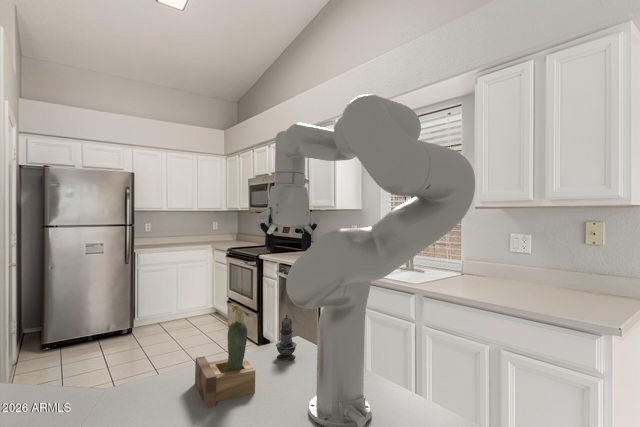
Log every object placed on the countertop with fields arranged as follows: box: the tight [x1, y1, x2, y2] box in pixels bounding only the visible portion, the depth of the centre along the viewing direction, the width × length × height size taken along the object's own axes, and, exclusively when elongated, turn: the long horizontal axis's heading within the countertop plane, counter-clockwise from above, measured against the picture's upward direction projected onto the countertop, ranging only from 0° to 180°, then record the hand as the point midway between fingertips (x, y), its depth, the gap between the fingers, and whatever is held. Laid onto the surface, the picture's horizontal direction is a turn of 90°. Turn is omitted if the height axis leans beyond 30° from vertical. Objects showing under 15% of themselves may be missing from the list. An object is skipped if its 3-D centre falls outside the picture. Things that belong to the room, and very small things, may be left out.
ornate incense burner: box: [275, 314, 298, 362], centre depth 100 cm, size 6×6×12 cm
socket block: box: [208, 357, 256, 403], centre depth 81 cm, size 9×9×5 cm
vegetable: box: [225, 305, 248, 372], centre depth 80 cm, size 4×4×20 cm
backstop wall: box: [194, 356, 217, 408], centre depth 78 cm, size 12×2×6 cm, turn 29°
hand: (288, 249), depth 88 cm, fingers open, 9 cm apart
